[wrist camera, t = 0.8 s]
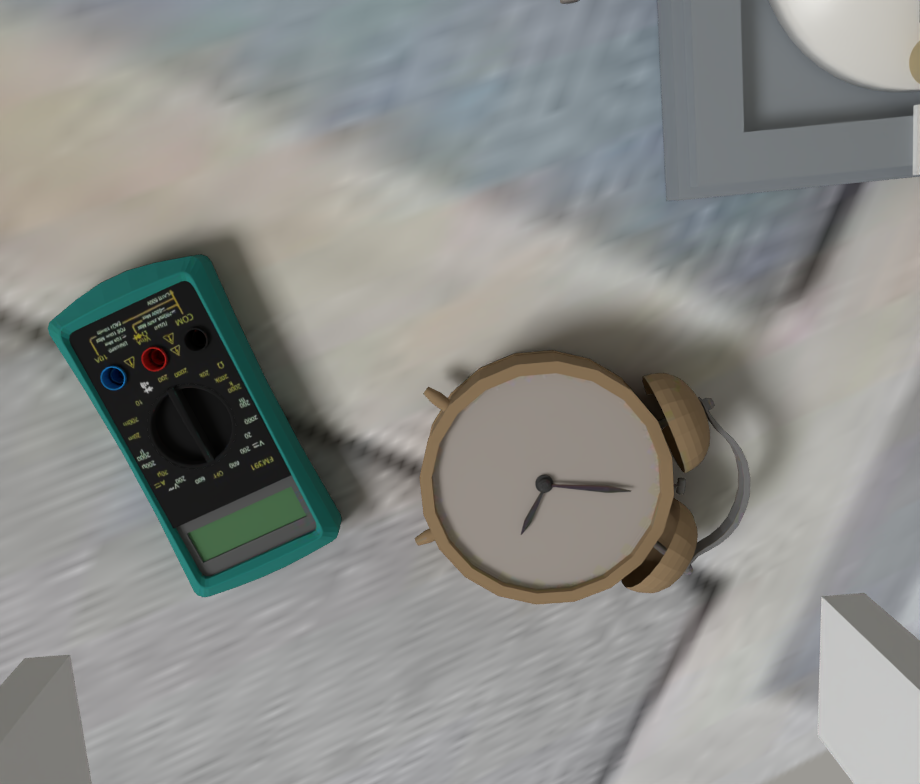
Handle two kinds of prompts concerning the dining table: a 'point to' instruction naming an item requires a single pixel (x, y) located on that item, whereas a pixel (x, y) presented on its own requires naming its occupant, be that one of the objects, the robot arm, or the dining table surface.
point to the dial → (858, 39)
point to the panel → (768, 109)
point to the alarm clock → (567, 479)
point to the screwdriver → (568, 1)
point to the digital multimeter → (197, 422)
